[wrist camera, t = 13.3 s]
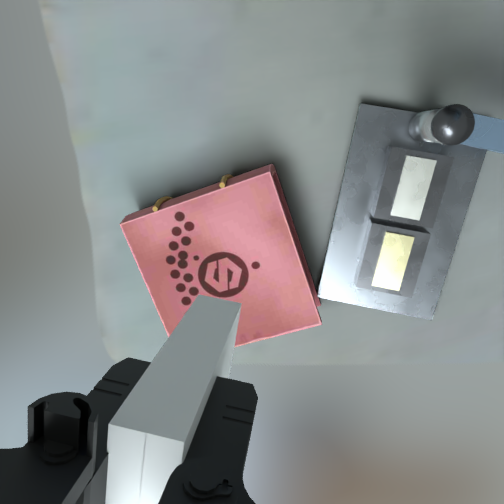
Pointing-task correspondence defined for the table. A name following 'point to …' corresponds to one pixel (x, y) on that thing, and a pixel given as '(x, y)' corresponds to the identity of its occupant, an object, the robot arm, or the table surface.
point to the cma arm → (467, 129)
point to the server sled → (397, 213)
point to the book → (227, 255)
